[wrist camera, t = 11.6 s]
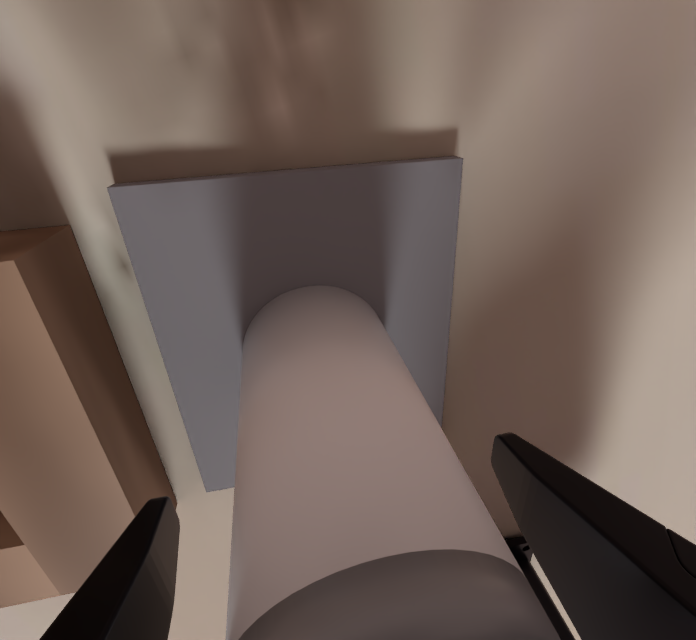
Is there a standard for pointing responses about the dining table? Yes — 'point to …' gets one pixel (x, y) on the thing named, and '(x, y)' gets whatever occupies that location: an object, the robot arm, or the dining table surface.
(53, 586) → the socket block
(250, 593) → the cylinder
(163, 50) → the dining table surface
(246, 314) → the mat
